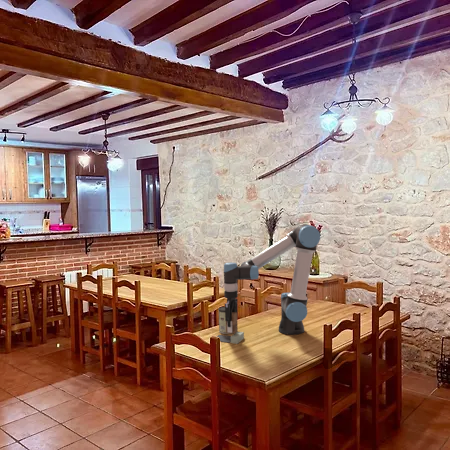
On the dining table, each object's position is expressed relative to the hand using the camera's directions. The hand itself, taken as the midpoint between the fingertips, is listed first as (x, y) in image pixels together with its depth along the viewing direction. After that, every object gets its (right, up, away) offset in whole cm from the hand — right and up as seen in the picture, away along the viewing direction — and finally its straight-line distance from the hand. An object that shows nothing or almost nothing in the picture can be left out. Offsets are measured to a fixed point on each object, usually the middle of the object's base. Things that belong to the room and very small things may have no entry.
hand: (231, 330), depth 245 cm
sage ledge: (+3, -5, -1) cm, 6 cm away
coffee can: (-2, -5, +16) cm, 17 cm away
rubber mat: (-4, -5, +2) cm, 7 cm away
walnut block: (0, -1, 0) cm, 1 cm away
